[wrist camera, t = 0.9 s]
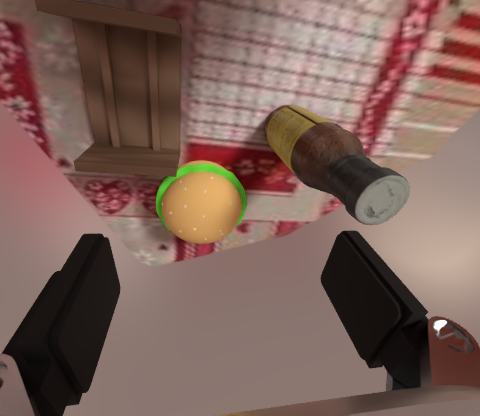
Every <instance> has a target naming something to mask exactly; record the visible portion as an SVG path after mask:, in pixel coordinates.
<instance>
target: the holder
mask: <svg viewBox="0 0 480 416" xmlns="http://www.w3.org/2000/svg"><path fill="white" fill-rule="evenodd" d="M35 3H36V7H37V11H42V12H46V13H50V14H54V15H59V16H63V17H67V18H71V19H72V22H73V27H74V33H75V38H76V44H77V49H78V55H79V60H80V65H81V71H82V76H83V82H84V87H85V93H86V98H87V104H88V109H89V115H90V120H91V126H92V131H93V136H94V142H95V143H94V144H92V145H91V146H90V147H89V148H88V149H87V150H86V151H85V152H84V153H83V154H82V155H80V156H79V157H78V158H77V159H76V160H75V161H74V165H75V169H76V171H87V172H103V173H120V174H137V175H153V176H170V177H176V175H177V169H178V163H179V157H180V77H181V25H180V24H179V23H178V21H177V20H176V19H173V18H167V17H162V16H156V15H151V14H145V13H140V12H134V11H129V10H123V9H118V8H112V7H107V6H102V5H96V4H91V3H85V2H80V1H74V0H35Z"/></svg>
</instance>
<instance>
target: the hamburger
mask: <svg viewBox="0 0 480 416" xmlns="http://www.w3.org/2000/svg"><path fill="white" fill-rule="evenodd" d="M246 206H247V198H246V193H245V190H244V188H243V186H242V185H241V183H240V182H239V180H238V179H237V178H236V176H235V175H234V173H233V172H231V171H227V170H226V169H225V168H224V167H222V166H221V165H219V164H217V163H214V162H211V161H205V160H197V161H191V162H188V163H185V164H184V165H182V166H180V167H179V168H178V169H177V175H176V177H170V176H167V177H166V178H165V179H164V180H163V182H162V183H161V185H160V187H159V189H158V192H157V195H156V212H157V214H158V216H159V217H160V219H161V221H162V222H163V224H164V226H165V227H166V228H167V229H168V230H169V231H172V232H173V233H174V234H175V235H176V236H178V237H179V238H181V239H183V240H185V241H187V242H191V243H197V244H207V243H212V242H215V241H218V240H220V239H222V238H224V237H225V236H227V235H228V234H229V233H230V232H231V231H232V230H233V229H234V227H236V226H237V225H238V224H239V223H240V222H241V221H242V219H243V216H244V213H245V209H246Z"/></svg>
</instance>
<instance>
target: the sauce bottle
mask: <svg viewBox="0 0 480 416" xmlns="http://www.w3.org/2000/svg"><path fill="white" fill-rule="evenodd" d="M265 137H266V140H267V141H268V143H269V145H270V147H271V148H272V149H273V151H274V152H275V153H276V154H277V155H278V156H279V157H280V158H281V159H282V161H283V162H284V163H285V164H286V165H287V166H288V167H289V169H290V170H291V171H292V172H293V173H294V174H295V175H296V176H297V177H298V179H299V180H300V181H301V182H303V183H304V184H305V185H307V186H309V187H311V188H314V189H317V190H320V191H324V192H327V193H330V194H332V195H334V196H335V197H337V198H338V199H339V200H340V201H341V202H342V203H343V204H344V205H345V207H346V210H347V212H348V213H349V214H350V215H351V216H352V217H354V218H355V219H356V220H357V221H359V222H361V223H363V224H367V225H377V224H381V223H383V222H385V221H388V220H389V219H390V218H392V217H393V216H394V215H396V214H397V213H398V212H399V211H400V209H401V208H402V207H403V206H404V205H405V203H406V202H407V199H408V197H409V192H410V187H409V184H408V182H407V180H406V179H405V178H404V177H403V176H401V175H400V174H398V173H397V172H395V171H393V170H391V169H389V168H383V167H380V166H378V165H377V164H375V163H373V162H372V161H371V160H370V159H369V158H367V157H366V154H365V152H364V149H363V146H362V143H361V141H360V140H359V139H358V137H356V135H354V134H352V133H351V132H349V131H347V130H344V129H343V128H342V127H340V126H339V125H337V124H335V123H333V122H331V121H329V120H327V119H325V118H323V117H321V116H318V115H316V114H314V113H312V112H310V111H308V110H306V109H304V108H302V107H299V106H293V105H287V106H286V105H285V106H281V107H279V108H277V109H276V110H275V111H274V112H273V113H272V114H271V115H270V116H269V118H268V119H267V121H266V125H265Z"/></svg>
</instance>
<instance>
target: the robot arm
mask: <svg viewBox="0 0 480 416" xmlns="http://www.w3.org/2000/svg"><path fill="white" fill-rule="evenodd" d="M321 283H322V285H323V287H324V289H325V291H326V293H327V295H328V297H329V299H330V300H331V302H332V304H333V306H334V308H335V310H336V312H337V314H338V316H339V318H340V320H341V321H342V323H343V325H344V327H345V329H346V331H347V332H348V334H349V336H350V338H351V340H352V342H353V344H354V346H355V348H356V350H357V352H358V354H359V355H360V357H361V358H362V359H363V360H365V361H366V363H367V365H368V367H369V368H377V367H382V366H383V365H384V367H385V368H386V370H387V381H386V392H379V393H372V394H364V395H357V396H350V397H343V398H335V399H328V400H321V401H315V402H307V403H300V404H293V405H286V406H279V407H272V408H265V409H258V410H252V411H244V412H237V413H230V414H224V415H218V416H480V347H479V345H478V343H477V342H476V340H475V339H474V337H473V336H472V335H471V334H470V333H469V332H468V331H467V330H466V329H464V328H463V327H462V326H460V325H459V324H457V323H456V322H454V321H452V320H450V319H447V318H444V317H439V316H435V317H431V318H430V319H429V320H428V319H427V317H426V316H425V315H426V314H427V313H428V311H427V310H426V309H425V308H424V307H423V305H422V304H421V303H420V302H419V301H418V300H417V299H416V298H415V296H414V295H413V294H412V293H411V292H410V291H409V290H408V288H407V287H406V286H405V285H404V284H403V283H402V281H401V280H400V279H399V278H398V277H397V276H396V275H395V273H394V272H393V271H392V270H391V269H390V268H389V267H388V266H387V264H386V263H385V262H384V261H383V260H382V259H381V257H380V256H379V255H378V254H377V253H376V252H375V251H374V250H373V248H372V247H371V246H370V245H369V244H368V243H367V241H366V240H365V239H364V238H363V237H362V236H361V235H360V233H359V232H357V231H342V232H341V233H340V234H339V235H337V237H336V240H335V242H334V245H333V248H332V250H331V252H330V255H329V258H328V260H327V262H326V265H325V267H324V270H323V272H322V275H321ZM119 294H120V283H119V279H118V275H117V271H116V267H115V262H114V258H113V254H112V250H111V246H110V242H109V239H108V238H107V237H104V236H103V235H102V234H83V235H82V237H81V238H80V240H79V241H78V243H77V245H76V246H75V248H74V250H73V251H72V253H71V254H70V256H69V258H68V259H67V261H66V263H65V264H64V266H63V268H62V269H61V271H57V272H55V273H54V274H53V275H52V276H51V277H50V279H49V281H48V282H47V284H46V285H45V287H44V288H43V290H42V292H41V293H40V295H39V296H38V298H37V299H36V301H35V303H34V304H33V306H32V307H31V309H30V310H29V312H28V313H27V315H26V317H25V318H24V319H23V321H22V323H21V324H20V326H19V327H18V329H17V330H16V332H15V334H14V335H13V337H12V338H11V340H10V341H9V343H8V344H7V346H6V347H5V349H4V351H3V352H2V354H0V416H63V413H64V410H65V408H66V406H69V405H76V404H79V402H80V399H81V396H82V393H86V392H87V391H88V390H89V388H90V385H91V382H92V379H93V376H94V373H95V370H96V367H97V364H98V361H99V357H100V354H101V351H102V348H103V345H104V342H105V339H106V335H107V332H108V329H109V326H110V323H111V320H112V317H113V313H114V310H115V307H116V304H117V301H118V298H119Z"/></svg>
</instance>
